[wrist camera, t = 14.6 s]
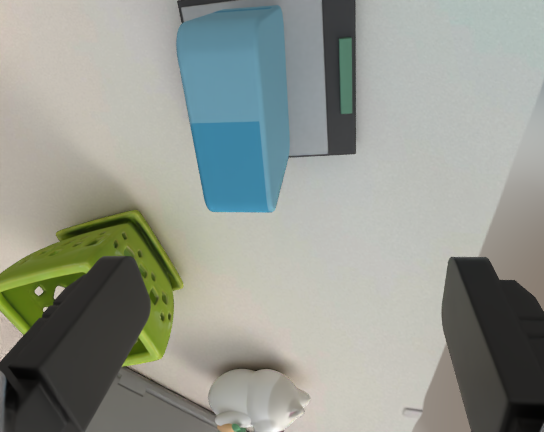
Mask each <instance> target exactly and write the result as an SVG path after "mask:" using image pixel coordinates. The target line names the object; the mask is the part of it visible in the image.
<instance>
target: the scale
mask: <svg viewBox="0 0 544 432" xmlns="http://www.w3.org/2000/svg"><path fill="white" fill-rule="evenodd" d="M177 3H178V8H179V12H180V17H181V22H182V23H183V22H186V21H189V20H192V19H195V18H198V17H201V16H204V15H207V14H210V13H213V12H216V11H219V10H222V9H233V8H246V7H259V6H272V5H278V6H280V7H281V10H282V14H283V22H284V39H285V58H286V77H287V96H288V115H289V134H290V150H289V157H308V156H327V155H347V154H356V59H355V0H178V1H177ZM289 157H288V158H289Z"/></svg>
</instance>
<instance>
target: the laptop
mask: <svg viewBox="0 0 544 432" xmlns="http://www.w3.org/2000/svg"><path fill="white" fill-rule="evenodd" d="M216 417H217V415H215V414H214V413H212V412H210V411H208V410H206V409H204V408H202V407H200V406H198V405H196V404H195V403H193V402H191V401H189V400H187V399H185V398H183V397H181V396H179V395H178V394H176V393H174V392H172V391H170V390H168V389H166V388H164V387H162V386H160V385H159V384H157V383H155V382H153V381H151V380H149V379H147V378H145V377H143V376H141V375H140V374H138V373H136V372H134V371H132V370H130V369H128V368H126V367H124V366H123V367H121V369H120V370H119V372H118V374H117V376H116V377H115V379H114V381H113V383H112V385H111V386H110V388H109V390H108V392H107V393H106V395H105V397H104V399H103V400H102V402H101V404H100V406H99V408H98V409H97V411H96V413H95V415H94V416H93V418H92V420H91V422H90V424H89V425H88V427H87V429H86V431H85V432H221V431H219V430H218V429H217V426H218V425H217V424H216V423H215V418H216ZM245 432H248V431H245Z"/></svg>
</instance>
